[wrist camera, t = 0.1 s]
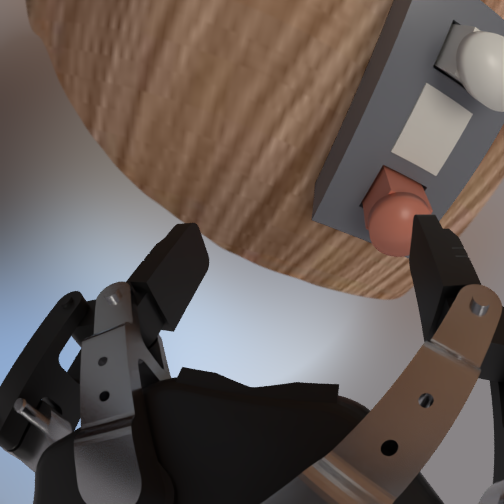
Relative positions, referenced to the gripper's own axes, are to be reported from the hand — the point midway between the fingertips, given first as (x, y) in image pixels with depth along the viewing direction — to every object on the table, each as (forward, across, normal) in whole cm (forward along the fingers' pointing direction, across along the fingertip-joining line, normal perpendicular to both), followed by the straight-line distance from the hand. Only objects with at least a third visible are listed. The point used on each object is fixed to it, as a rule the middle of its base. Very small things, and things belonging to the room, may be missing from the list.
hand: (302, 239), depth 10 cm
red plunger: (+19, -6, +6) cm, 21 cm away
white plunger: (+17, -13, -7) cm, 23 cm away
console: (+22, -10, -1) cm, 24 cm away
